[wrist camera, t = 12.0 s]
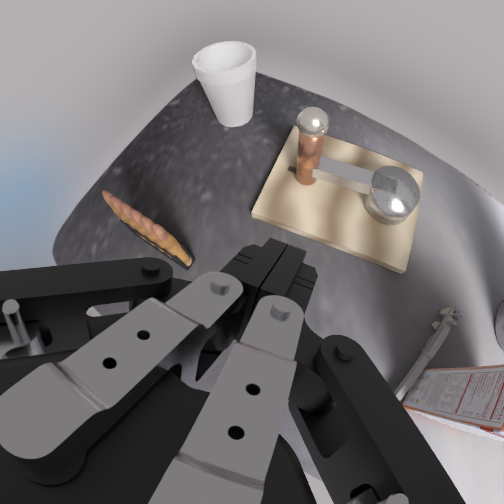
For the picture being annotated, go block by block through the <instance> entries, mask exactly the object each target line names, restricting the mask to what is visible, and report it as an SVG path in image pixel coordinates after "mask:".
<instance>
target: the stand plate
mask: <svg viewBox="0 0 504 504" xmlns="http://www.w3.org/2000/svg"><path fill="white" fill-rule="evenodd" d="M298 137H299V129H298V127H297V126H294V127H293V129H292V131H291V133H290V135H289V137H288V139H287V141H286V143H285V145H284V147H283V149H282V151H281V153H280V155H279V157H278V159H277V161H276V163H275V165H274V167H273V169H272V171H271V173H270V175H269V177H268V179H267V181H266V183H265V185H264V187H263V190H262V192H261V194H260V196H259V198H258V200H257V202H256V204H255V206H254V208H253V210H252V212H251V213H252V217H253V218H256V219H258V220H261V221H264V222H267V223H269V224H272V225H275V226H278V227H280V228H283V229H286V230H289V231H291V232H294V233H297V234H299V235H302V236H305V237H307V238H310V239H313V240H315V241H318V242H321V243H323V244H326V245H329V246H331V247H334V248H336V249H339V250H342V251H344V252H347V253H349V254H352V255H354V256H357V257H360V258H362V259H365V260H367V261H370V262H372V263H375V264H377V265H380V266H382V267H385V268H387V269H390V270H392V271H395V272H397V273H400V274H403V273H404V272H405V271H406V268H407V264H408V259H409V255H410V250H411V246H412V241H413V236H414V231H415V226H416V220H417V214H418V208H419V203H418V205H417V206H416V207H415V209H414V210H413V211H412V212H411V214H410V215H409V216H408V217H407V218H406V220H405V221H404V222H402V223H400V224H398V225H386V224H383V223H380V222H379V221H377V220H376V219H374V218H373V217H372V216H371V215H370V213H369V212H368V210H367V208H366V206H365V202H364V195H365V194H364V193H361V192H358V191H355V190H352V189H349V188H346V187H343V186H340V185H336V184H333V183H330V182H327V181H323V180H320V179H317V180H316V182H315V183H314V184H312V185H308V186H306V185H302V184H300V183H299V182H298V181H297V179H296V167H297V153H298ZM321 156H324V157H328V158H331V159H334V160H338V161H341V162H344V163H348V164H351V165H354V166H357V167H360V168H363V169H366V170H369V171H372V172H375V171H376V170H377V169H379V168H381V167H383V166H396V167H399V168H402V169H404V170H405V171H407V172H408V173H409V174H410V175H411V176H412V177H413V178H414V179H415V180H416V182H417V184H418V186H419V189H420V196H421V189H422V181H423V172H420V171H418V170H416V169H414V168H411V167H409V166H407V165H404V164H402V163H400V162H397V161H395V160H392V159H390V158H387V157H385V156H382V155H380V154H377V153H375V152H372V151H369V150H367V149H364V148H361V147H359V146H356V145H353V144H350V143H347V142H344V141H341V140H339V139H336V138H333V137H329V136H326V135H325V136H324V142H323V148H322V154H321ZM419 202H420V200H419Z"/></svg>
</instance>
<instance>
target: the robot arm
mask: <svg viewBox="0 0 504 504" xmlns="http://www.w3.org/2000/svg"><path fill="white" fill-rule="evenodd" d="M305 255H306V251H305V250H302V249H299V248H297V247H294V246H291V245H288V244H286V243H283V242H281V241H278V240H275V239H272V238H270V239H269V240H268V241H267V242H266V243H265V244H264V246H263V247H259V246H257V245H254V244H253V245H250V246H247V247H244V248H243V249H242V250H241V251H240V252H239V253H238V254H237V255H236V256H235V257H234V258H233V259H232V260H231V261H230V262H229V263H228V264H227V265H226V266H225V267H224V268H223V269H222V270H221V271H220V272H208V273H205V274H203V275H201V276H200V277H198V278H197V279H196V280H194V281H193V282H191V281H186V280H181V279H176V278H172V277H173V269H172V267H171V266H170V265H169V264H168V263H167V262H165V261H163V260H161V259H158V258H151V257H147V258H135V259H124V260H114V261H103V262H92V263H82V264H71V265H61V266H51V267H41V268H30V269H20V270H10V271H0V504H317V503H316V500H315V498H314V495H313V493H312V491H311V488H310V486H309V484H308V481H307V479H306V476H305V474H304V471H303V469H302V467H301V464H300V462H299V460H298V457H297V456H296V454H295V452H294V451H293V449H292V448H291V446H290V445H289V444H288V443H287V441H286V440H285V439H284V438H283V437H282V436H281V435H280V434H279V431H280V427H281V424H282V420H283V416H284V413H285V409H286V405H287V401H288V400H289V404H288V406H289V410H290V412H291V415H292V417H293V419H294V421H295V423H296V425H297V428H298V430H299V432H300V434H301V436H302V438H303V440H304V443H305V445H306V447H307V449H308V451H309V453H310V455H311V457H312V460H313V462H314V464H315V466H316V468H317V470H318V472H319V474H320V476H321V478H322V480H323V482H324V484H325V486H326V488H327V490H328V492H329V495H330V496H331V499H332V501H333V503H334V504H466V503H465V501H464V500H463V498H462V497H461V495H460V493H459V492H458V490H457V488H456V487H455V485H454V484H453V482H452V480H451V479H450V477H449V476H448V474H447V472H446V471H445V469H444V468H443V466H442V465H441V463H440V461H439V460H438V458H437V457H436V455H435V454H434V452H433V451H432V449H431V448H430V446H429V444H428V443H427V441H426V440H425V438H424V437H423V435H422V434H421V432H420V431H419V429H418V428H417V426H416V425H415V423H414V422H413V420H412V419H411V417H410V416H409V414H408V413H407V411H406V410H405V408H404V407H403V405H402V404H401V403H400V401H399V400H398V398H397V397H396V395H395V394H394V392H393V391H392V389H391V388H390V387H389V385H388V384H387V382H386V381H385V379H384V378H383V376H382V375H381V374H380V372H379V371H378V369H377V368H376V366H375V365H374V364H373V362H372V361H371V359H370V358H369V357H368V355H367V354H366V352H365V351H364V349H363V348H362V347H361V346H360V345H359V344H358V343H357V342H355V341H354V340H352V339H350V338H348V337H345V336H342V335H331V336H328V337H326V338H324V339H322V338H321V337H319V336H318V335H317V334H315V333H314V332H313V331H312V330H311V329H310V328H309V327H308V325H307V324H306V322H305V318H304V314H305V311H306V308H307V305H308V302H309V299H310V297H311V294H312V291H313V288H314V285H315V282H316V279H317V276H318V275H317V273H316V270H315V268H314V267H312V266H309V265H306V264H304V263H303V261H304V258H305ZM125 301H129V312H128V313H121V314H114V315H106V316H99V317H91V316H88V315H87V314H86V311H87V310H88V309H89V308H90V307H92V306H94V305H101V304H109V303H117V302H125ZM495 330H496V337H497V340H498V343H499V345H500V347H501V348H502V349H503V351H504V301H503V302H502V303H501V305H500V307H499V309H498V312H497V316H496V322H495ZM234 339H235V340H237V342H236V343H235V345H234V347H233V349H232V351H231V353H230V355H229V357H228V359H227V361H226V363H225V365H224V367H223V369H222V371H221V373H220V375H219V377H218V379H217V381H216V383H215V385H214V387H213V389H212V391H211V393H209V392H205V391H202V390H198V388H199V387H200V386H201V384H202V383H203V382H204V381H205V380H206V378H207V377H208V376H209V375H210V373H211V372H212V371H213V370H214V369H215V367H216V366H217V365H218V364H219V362H220V361H221V360H222V359H223V357H224V356H225V355H226V352H227V349H228V347H229V346H230V344H231V343H232V341H233V340H234Z"/></svg>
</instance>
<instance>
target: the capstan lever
mask: <svg viewBox="0 0 504 504" xmlns="http://www.w3.org/2000/svg"><path fill="white" fill-rule="evenodd" d="M297 126H298V129H299V137H298V153H297V167H296V179H297V181H298V182H299V183H300V184H302V185H306V186H308V185H312V184H314V183H315V182H316V180H317V179H320V180H323V181H327V182H330V183H333V184H336V185H340V186H343V187H346V188H349V189H352V190H355V191H358V192H361V193H364V194H365V195H364V202H365V206H366V208H367V210H368V212H369V213H370V215H371V216H372V217H373V218H374V219H376V220H377V221H379V222H380V223H383V224H386V225H398V224H400V223H402V222H404V221H405V220H406V218H407V217H408V216H409V215H410V214H411V212H412V211H413V210H414V209H415V207H416V206H417V205H418V203H419V200H420V189H419V186H418V184H417V182H416V180H415V179H414V178H413V177H412V176H411V175H410V174H409V173H408V172H407V171H405V170H404V169H402V168H399V167H396V166H383V167H381V168H379V169H377V170H376V171H375V172H372V171H369V170H366V169H363V168H360V167H357V166H354V165H351V164H348V163H344V162H341V161H338V160H334V159H331V158H328V157H324V156H321V154H322V148H323V142H324V136H325V133H326V132H327V130H328V128H329V118H328V116H327V114H326V113H325V112H324V111H323V110H322V109H320V108H317V107H307V108H305V109H303V110H302V111H301V112H300V113H299V115H298V117H297Z"/></svg>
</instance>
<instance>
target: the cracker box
mask: <svg viewBox="0 0 504 504" xmlns="http://www.w3.org/2000/svg"><path fill="white" fill-rule="evenodd" d="M402 405H403V407H404V408H405V409H407V410H410V411H412V412H414V413H417V414H419V415H422V416H424V417H426V418H429V419H432V420H434V421H437V422H439V423H442V424H445V425H447V426H450V427H453V428H456V429H459V430H462V431H465V432H468V433H472V434H475V435H479V436H482V437H486V438H490V439H494V440H498V441H503V442H504V365H494V366H482V367H467V368H442V369H423V371H422V372H421V374H420V375H419V376H418V378H417V379H416V381H415V382H414V383H413V385H412V386H411V387H410V389H409V391H408V393H407V395H406V397H405V399H404V401H403V403H402Z"/></svg>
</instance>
